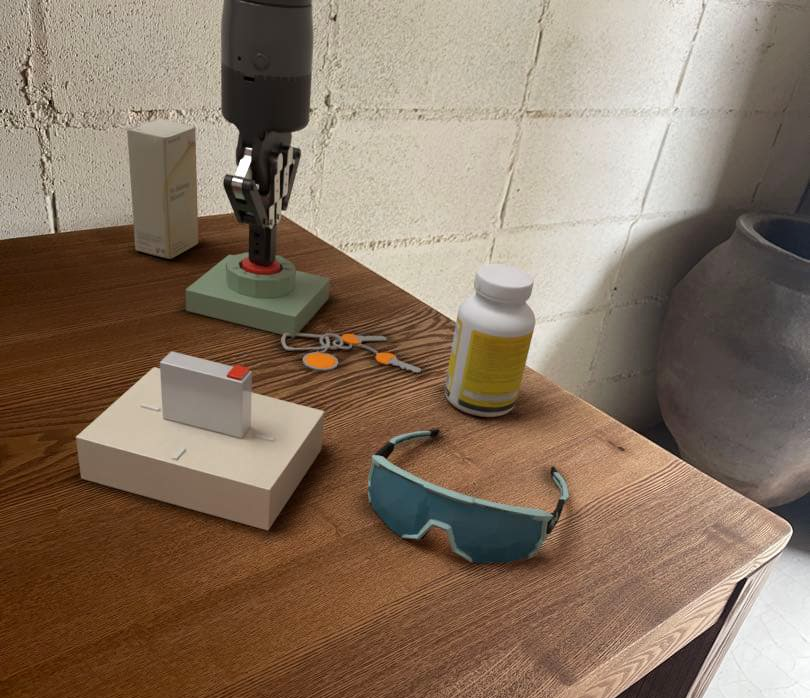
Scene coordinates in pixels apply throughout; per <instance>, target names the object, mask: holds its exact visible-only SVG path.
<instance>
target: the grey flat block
mask: <svg viewBox="0 0 810 698" xmlns="http://www.w3.org/2000/svg"><path fill="white" fill-rule="evenodd" d="M159 368H160V375H161V394H162V413H163V418H164V419H168V420H172V421H176V422H180V423H184V424H187V425H191V426H195V427H199V428H203V429H207V430H211V431H215V432H219V433H222V434H226V435H230V436H234V437H238V438H242V437H243V436H244V434H245V433H246V432H247V431H248V429H249V428H250V427H251V402H252V393H253V371H252V370H250V367H246V366H242V365H238V364H235V365H229V364H225V363H220V362H217V361H213V360H209V359H204V358H200V357H198V356H193V355H189V354H185V353H180V352H176V351H170V352H169V353H168V354H167V355H165V357H163V358H162V359H161V360H160V361H159Z"/></svg>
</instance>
